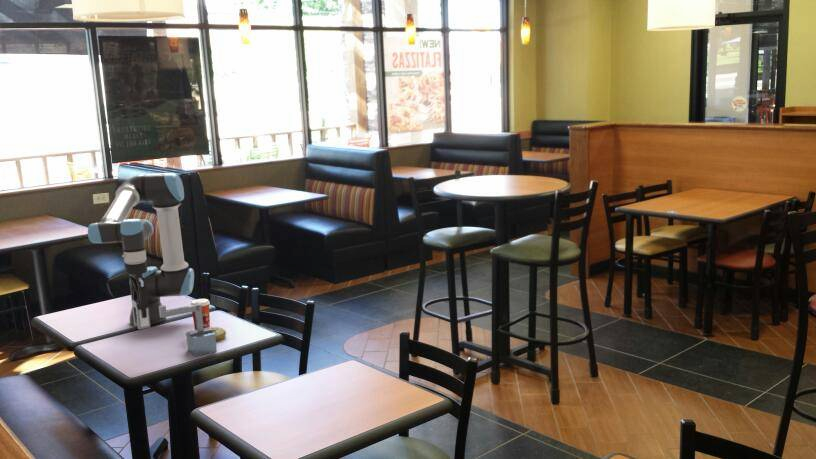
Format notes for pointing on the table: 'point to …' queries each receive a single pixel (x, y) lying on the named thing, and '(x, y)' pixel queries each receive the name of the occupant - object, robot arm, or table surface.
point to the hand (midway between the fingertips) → (142, 323)
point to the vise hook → (197, 339)
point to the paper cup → (205, 312)
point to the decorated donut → (219, 333)
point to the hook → (136, 314)
